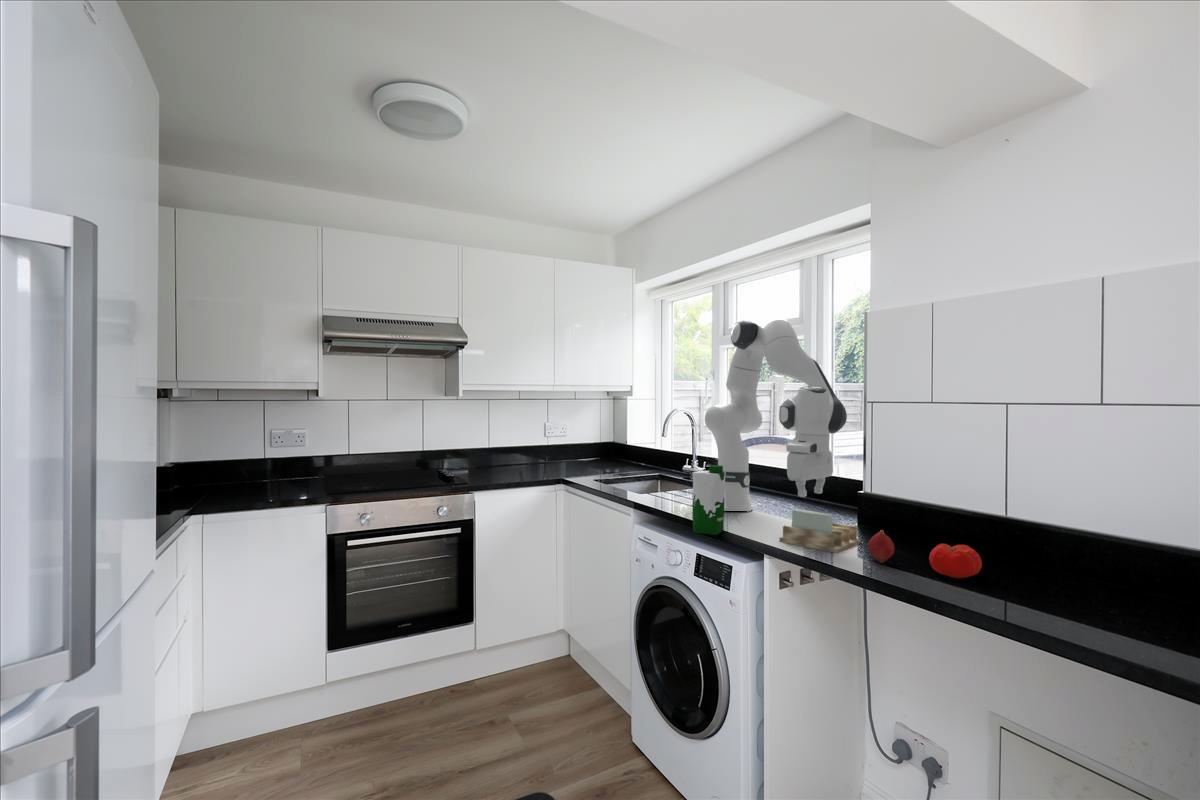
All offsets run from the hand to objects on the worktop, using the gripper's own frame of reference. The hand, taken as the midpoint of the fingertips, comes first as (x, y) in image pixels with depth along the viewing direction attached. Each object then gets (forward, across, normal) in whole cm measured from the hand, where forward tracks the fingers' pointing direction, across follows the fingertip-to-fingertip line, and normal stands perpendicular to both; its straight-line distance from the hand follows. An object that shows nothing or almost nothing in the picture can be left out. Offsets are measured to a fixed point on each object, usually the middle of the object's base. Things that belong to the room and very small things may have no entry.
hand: (810, 494), depth 150 cm
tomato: (+14, 0, +35) cm, 37 cm away
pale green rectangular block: (+13, 0, +1) cm, 13 cm away
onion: (+14, +3, +20) cm, 24 cm away
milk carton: (+14, +9, -27) cm, 32 cm away
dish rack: (+14, -5, +1) cm, 15 cm away
